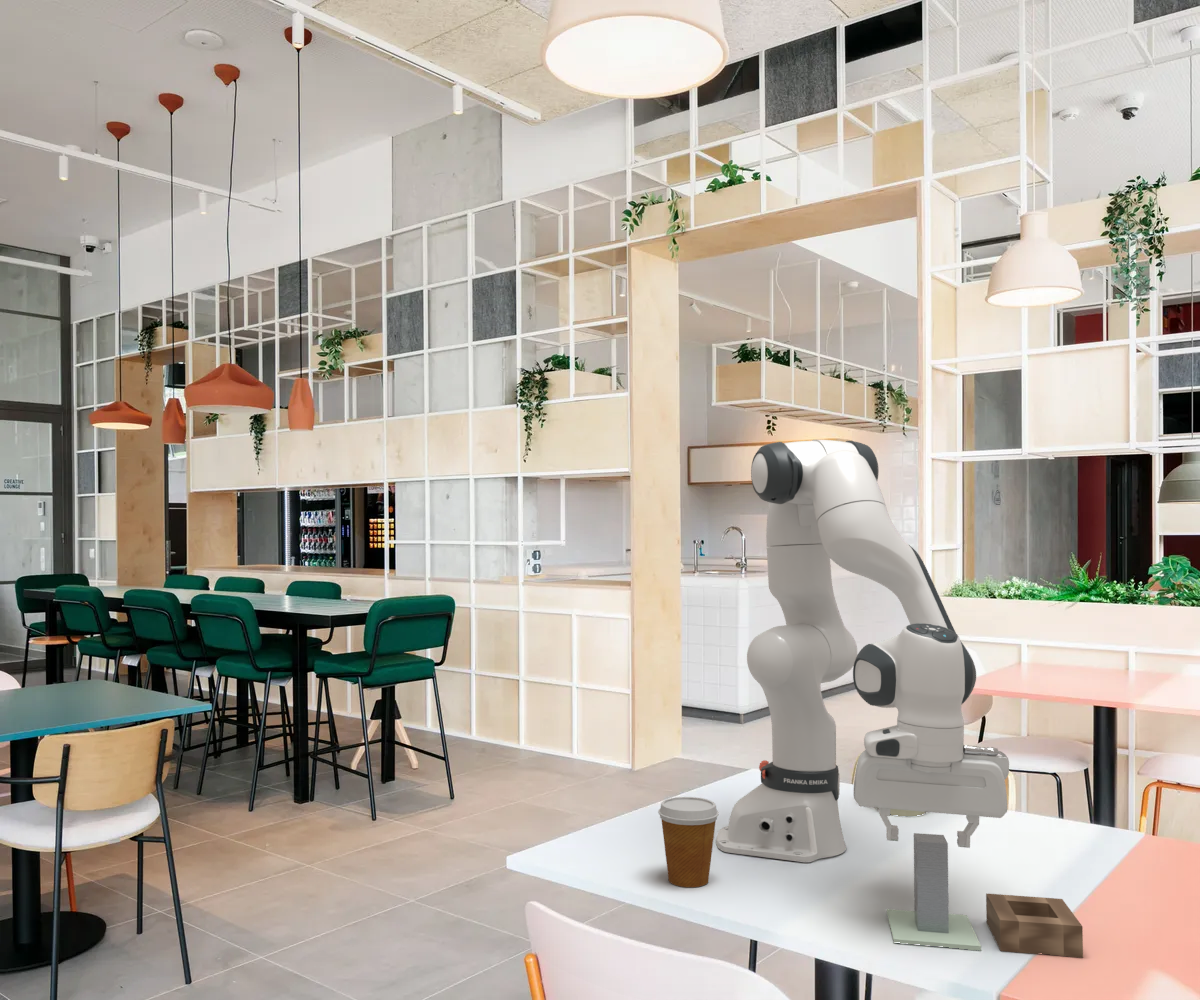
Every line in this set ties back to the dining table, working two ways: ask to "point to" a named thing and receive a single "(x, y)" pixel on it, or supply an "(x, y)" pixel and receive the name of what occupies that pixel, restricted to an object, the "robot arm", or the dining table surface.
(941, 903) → the peg
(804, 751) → the robot arm
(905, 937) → the mat
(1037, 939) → the socket block
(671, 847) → the disposable coffee cup
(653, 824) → the dining table surface
